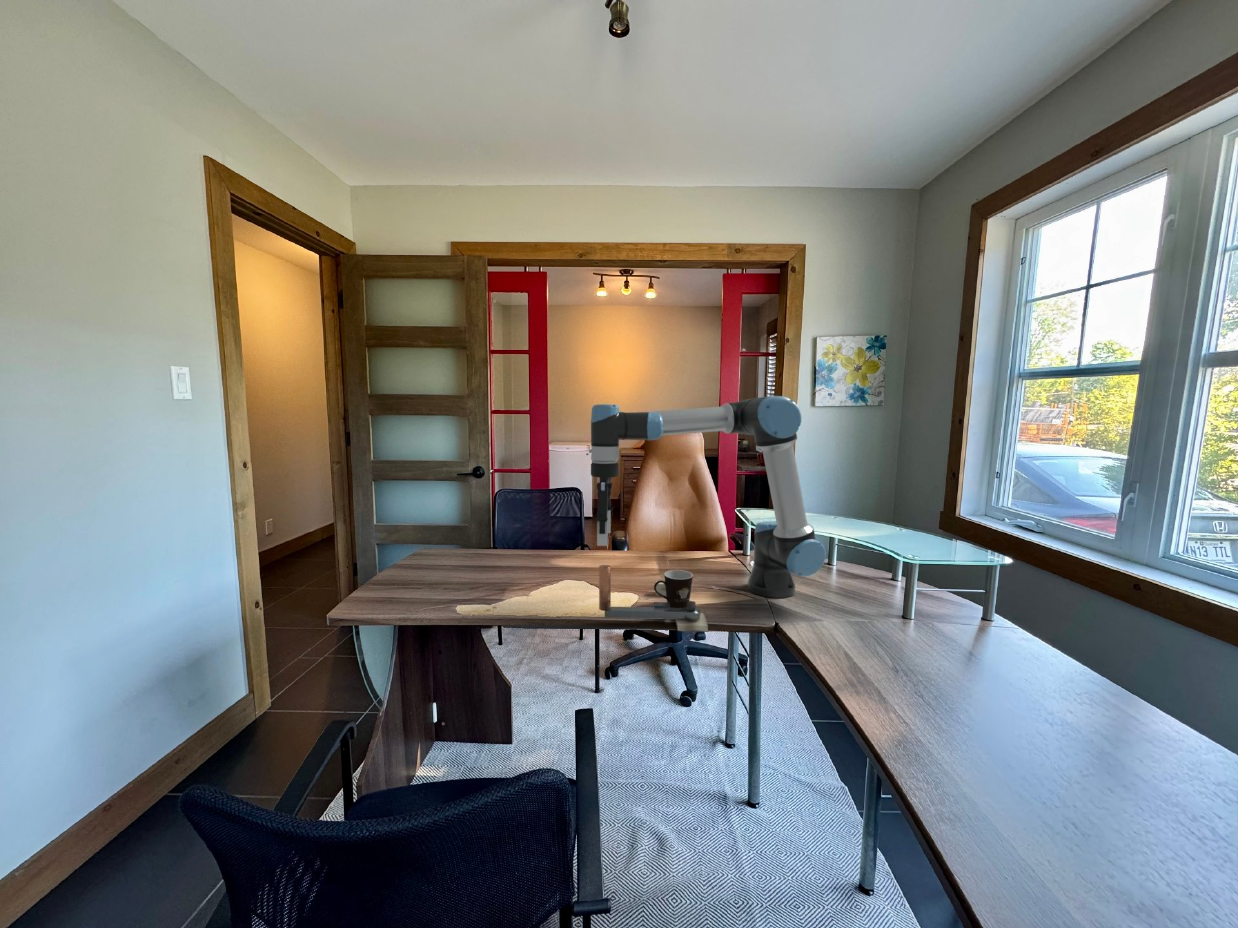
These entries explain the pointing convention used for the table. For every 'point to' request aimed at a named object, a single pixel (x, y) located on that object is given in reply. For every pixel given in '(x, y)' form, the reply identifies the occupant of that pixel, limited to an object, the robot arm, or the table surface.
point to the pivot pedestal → (692, 625)
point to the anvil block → (660, 589)
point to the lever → (656, 612)
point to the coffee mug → (677, 587)
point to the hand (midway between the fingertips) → (604, 538)
